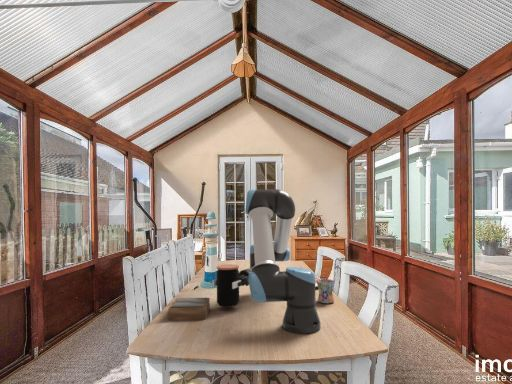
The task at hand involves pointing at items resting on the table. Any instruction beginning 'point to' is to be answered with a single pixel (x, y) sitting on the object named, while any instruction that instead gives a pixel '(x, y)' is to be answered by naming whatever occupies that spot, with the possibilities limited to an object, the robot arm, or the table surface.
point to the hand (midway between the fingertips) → (222, 284)
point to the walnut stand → (189, 309)
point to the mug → (325, 290)
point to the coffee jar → (227, 285)
